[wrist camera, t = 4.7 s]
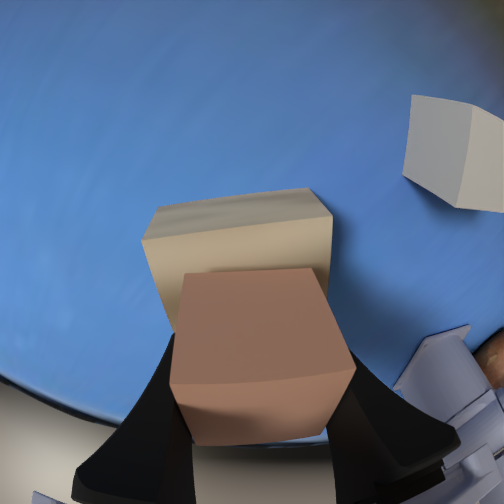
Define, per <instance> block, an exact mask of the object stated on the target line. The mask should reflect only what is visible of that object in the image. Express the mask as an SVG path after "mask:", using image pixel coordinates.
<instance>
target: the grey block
mask: <svg viewBox="0 0 504 504" xmlns="http://www.w3.org/2000/svg"><path fill="white" fill-rule="evenodd" d="M402 175H403V176H405V177H407V178H409V179H410V180H412V181H414V182H415V183H417V184H419V185H420V186H422V187H424V188H425V189H427V190H429V191H430V192H432V193H434V194H435V195H437V196H438V197H440V198H441V199H443V200H444V201H446V202H448V203H449V204H451V205H452V206H453V207H455V208H464V209H475V210H484V211H493V212H501V213H504V121H503V120H501V119H499V118H498V117H496V116H494V115H492V114H490V113H488V112H486V111H485V110H483V109H481V108H479V107H477V106H475V105H472V104H468V103H463V102H458V101H452V100H447V99H441V98H434V97H427V96H419V95H412V99H411V112H410V123H409V132H408V140H407V148H406V155H405V161H404V167H403V173H402Z"/></svg>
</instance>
